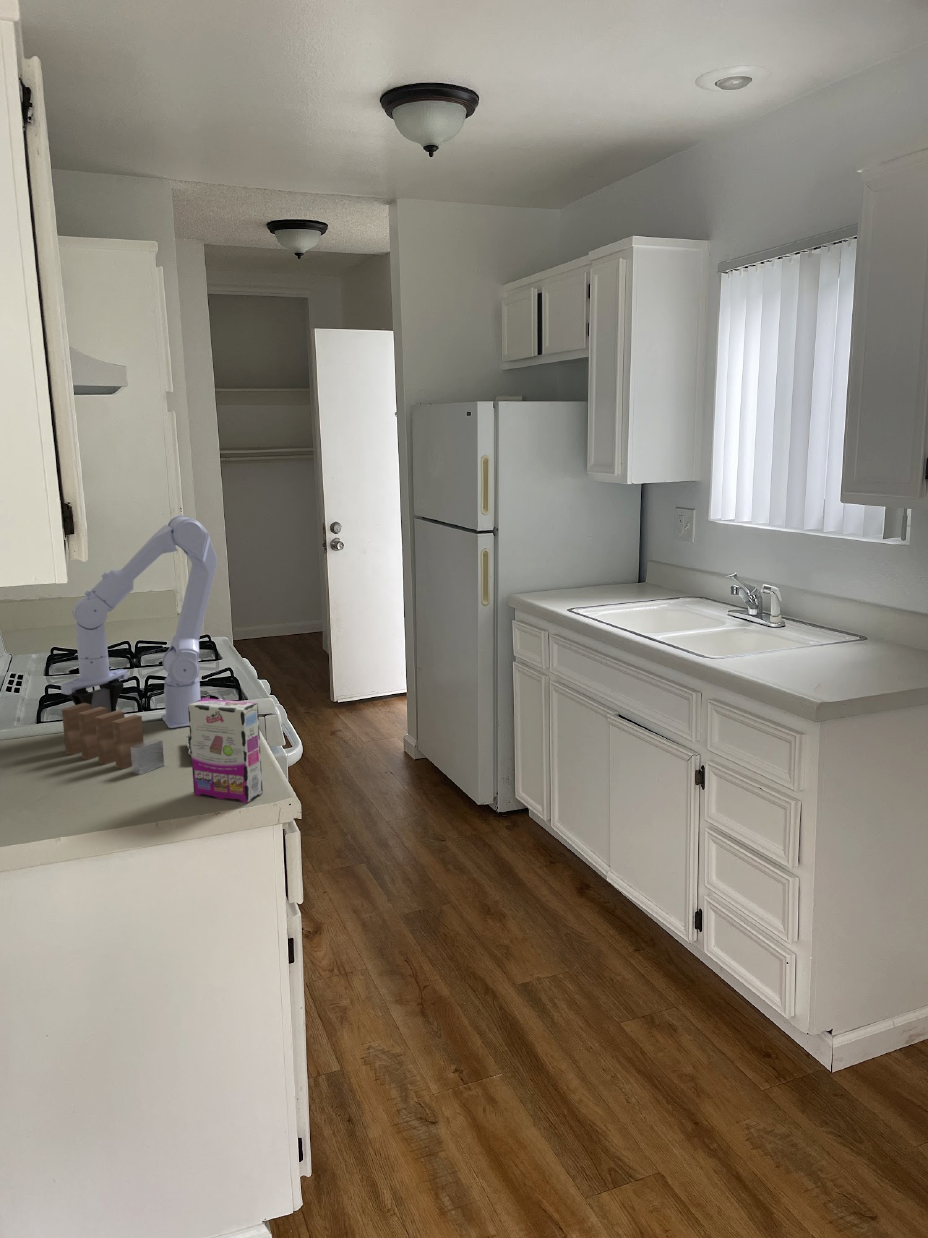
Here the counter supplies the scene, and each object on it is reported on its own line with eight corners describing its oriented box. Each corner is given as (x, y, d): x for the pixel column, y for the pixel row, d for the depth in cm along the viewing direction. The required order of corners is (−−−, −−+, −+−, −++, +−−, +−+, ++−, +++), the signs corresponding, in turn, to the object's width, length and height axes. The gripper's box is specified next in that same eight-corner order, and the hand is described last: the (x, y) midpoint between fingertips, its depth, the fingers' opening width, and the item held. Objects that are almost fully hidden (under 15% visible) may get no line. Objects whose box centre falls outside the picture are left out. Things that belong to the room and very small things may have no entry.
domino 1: (65, 753, 182) (61, 709, 180) (88, 746, 186) (84, 702, 184) (72, 755, 180) (68, 710, 179) (94, 748, 185) (90, 704, 183)
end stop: (132, 772, 171) (130, 747, 170) (157, 763, 176) (155, 738, 175) (139, 774, 170) (137, 748, 169) (164, 765, 174) (162, 740, 173)
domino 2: (86, 735, 192) (82, 693, 190) (106, 729, 196) (103, 688, 195) (92, 737, 191) (88, 695, 189) (113, 730, 195) (109, 689, 193)
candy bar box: (264, 793, 161) (259, 702, 158) (248, 804, 156) (243, 710, 153) (209, 785, 165) (204, 696, 161) (192, 795, 160) (186, 704, 157)
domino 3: (82, 758, 179) (78, 713, 177) (104, 750, 183) (100, 706, 181) (88, 760, 178) (84, 714, 176) (110, 752, 182) (107, 708, 180)
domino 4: (98, 762, 176) (94, 717, 175) (120, 755, 180) (117, 710, 179) (105, 764, 175) (101, 718, 174) (127, 756, 179) (124, 712, 178)
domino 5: (116, 767, 174) (112, 721, 172) (138, 759, 178) (134, 714, 176) (123, 769, 173) (119, 723, 171) (145, 761, 177) (141, 716, 175)
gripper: (110, 646, 199) (115, 708, 201) (49, 661, 186) (55, 725, 189) (132, 650, 195) (137, 713, 198) (71, 665, 183) (77, 731, 185)
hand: (98, 719), depth 193 cm, fingers closed on domino 2, 5 cm apart
